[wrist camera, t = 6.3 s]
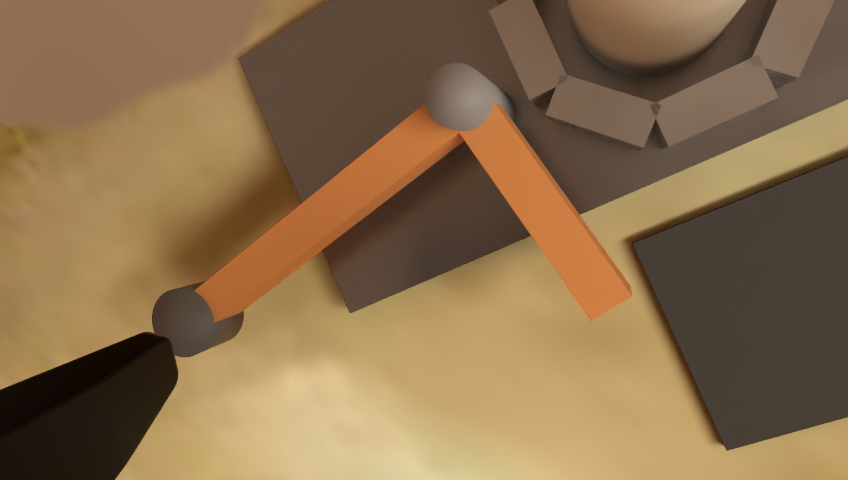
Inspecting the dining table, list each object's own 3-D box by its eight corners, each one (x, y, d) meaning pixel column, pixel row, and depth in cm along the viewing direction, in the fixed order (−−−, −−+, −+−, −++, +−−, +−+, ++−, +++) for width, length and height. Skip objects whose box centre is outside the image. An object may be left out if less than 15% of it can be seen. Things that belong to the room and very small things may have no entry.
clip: (322, 464, 22) (255, 530, 18) (211, 291, 23) (122, 317, 19) (634, 270, 18) (640, 299, 14) (490, 69, 19) (455, 39, 15)
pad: (725, 446, 19) (726, 450, 19) (632, 242, 19) (632, 243, 19) (982, 374, 17) (989, 377, 16) (875, 144, 17) (879, 144, 17)
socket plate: (359, 308, 22) (327, 325, 20) (250, 62, 22) (206, 48, 20) (903, 73, 17) (954, 56, 14) (750, -251, 17) (773, -324, 14)
